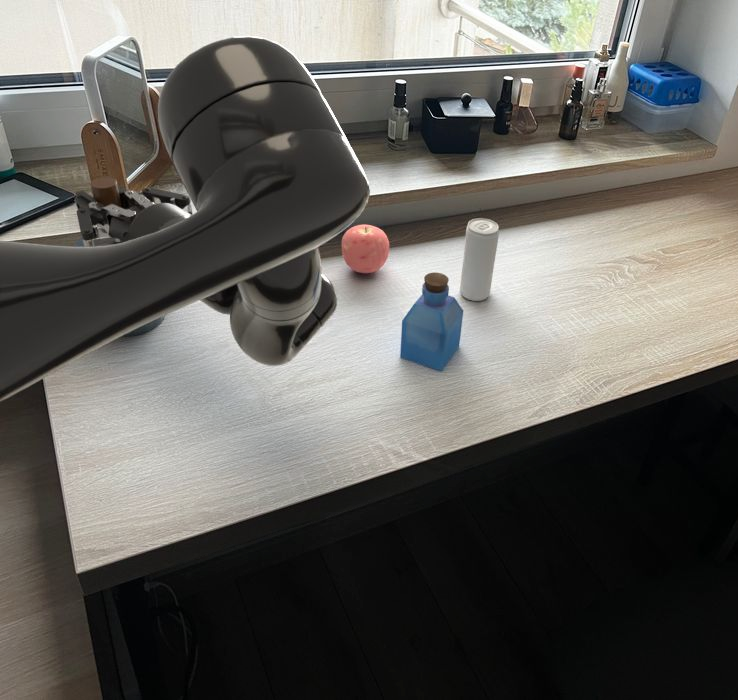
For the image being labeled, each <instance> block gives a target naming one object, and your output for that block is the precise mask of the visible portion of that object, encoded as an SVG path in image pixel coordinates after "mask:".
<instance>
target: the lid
mask: <svg viewBox="0 0 738 700" xmlns="http://www.w3.org/2000/svg"><path fill="white" fill-rule="evenodd" d="M118 185H119V184H118V181H117V179H115V178H112V177H98V178H95V179H93V180H91V181H90V182H89V186H90V191H91V196H92V197H94V198H95V199H97V200H98V201H99V202H100V203H102V204H105V205H109V204H113V205H116V206H118V207H120V208H123V207H122V203H121V198H120V194H119V189H118ZM97 229H98V230H101V231H102V232H103V233H107V232H106V230H105V229H103V228H100V227H99V228H98V227H97ZM109 245H112V244H109ZM74 246H77V247H80V246H84V243H83V239H82V236H80V237H79V238H78V239H77V240H76V241H75V242H74ZM102 246H104V245H102Z"/></svg>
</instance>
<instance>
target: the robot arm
mask: <svg viewBox="0 0 738 700" xmlns="http://www.w3.org/2000/svg"><path fill="white" fill-rule="evenodd" d="M157 121H158V126H159V131H160V135H161V138H162V141H163V144H164V147H165V151H166V152H167V154H168V156H169V159H170V160H171V163H172V165H173V167H174V169H175V171H176V172H177V175H178V176H179V178H180V180H181V183H182V184H183V186H184V188H185V190H186V192H187V194H184V193H178V192H173V191H169V190H168V191H167V190H163V189H158V188H154V187H144V188H142V189H141V192H138V191H136V190H133V189H127V188H125V187H123V186H122V185H120V184H117V185H118V189H119V194H120V198H121V203H122V207H123V208H120V207H118V206H116V205H113V204H109V205H105V204H102V203H100V202H99V201H98V200H97V199H95V198H94V197H93V195H90V194H89V193H87V192H86V191H84V190H80V191H76V192H75V196H74V197H73V198H74V201H75V205H76V208H77V210H76V216H77V221H78V226H79V229H80V230H79V231H80V235H81V237H82V239H83V243H84V246H80V247H77V246H75V245H74V246H73V245H56V244H55V245H54V244H44V243H43V244H42V243H34V242H33V243H31V242H21V241H10V240H9V241H8V240H0V403H3V402H5V401H6V400H8V399H9V398H11V397H13V396H14V395H17V394H18V393H20V392H22V391H24V390H26V389H27V388H29V387H31V386H32V385H34V384H36V383H37V382H40V381H41V380H43V379H45V378H47V377H48V376H50V375H52V374H54V373H55V372H57V371H60V370H61V369H62V368H65V367H66V366H68V365H70V364H72V363H73V362H76V361H77V360H79V359H81V358H83V357H84V356H86V355H88V354H90V353H92V352H94V351H96V350H98V349H100V348H102V347H103V346H105V345H107V344H109V343H112V342H113V341H115V340H117V339H119V338H122V337H121V336H123V335H125V334H127V333H129V332H131V331H133V330H135V329H137V328H139V327H141V326H143V325H145V324H147V323H149V322H151V321H153V320H155V319H158V318H160V317H162V316H164V315H165V316H167V315H169V314H171V313H173V312H176V311H178V310H180V309H183V308H185V307H187V306H190V305H192V304H194V303H196V302H198V301H200V302H201V303H203V304H204V305H205V306H207V307H209V308H210V309H212V310H214V311H216V312H218V313H219V314H223V315H228V316H229V327H230V330H231V335H232V336H233V339H234V340H235V343H236V345H238V347H239V348H240V349H241V350H242V352H243V353H244V354H245V355H246V356H247V357H248V358H250V359H252V360H253V361H255V362H256V363H259V364H261V365H264V366H268V367H279V366H283V365H286V364H288V363H290V362H291V361H293V360H294V359H295V358H296V357H297V356H298V355H299V354H300V352H302V350H303V349H304V348H305V347H306V346H307V345H308V343H309V342H310V341H311V340H312V339H313V338H314V337H315V336H316V335H317V334H318V333H319V332H320V331H321V329H322V328H323V327H325V324H327V323H328V321H329V320H330V319H331V318H332V317H333V315H334V313H335V312H336V310H337V307H338V296H337V292H336V289H335V287H334V285H333V283H332V281H331V280H330V279H329V278H328V277H327V276H326V275H325V274H324V273H323V265H322V257H321V252H320V248H319V247H320V246H322V245H324V244H325V243H327V242H328V241H331V240H332V239H333V238H335V237H337V236H338V235H339V234H340V233H342V232H343V231H345V230H346V229H348V228H349V227H350V226H351V225H352V224H353V223H354V222H355V221H356V220H357V218H359V217H360V215H362V213H363V212H364V211H365V209H366V207H367V204H368V202H369V200H370V194H371V187H370V183H369V180H368V178H367V176H366V173H365V171H364V168H363V166H362V165H361V163H360V161H359V159H358V157H357V155H356V153H355V152H354V150H353V148H352V147H351V145H350V142H349V141H348V139H347V137H346V135H345V133H344V131H343V130H342V128H341V126H340V124H339V122H338V120H337V118H336V117H335V115H334V112H333V111H332V109H331V107H330V106H329V104H328V102H327V100H326V99H325V97H324V95H323V93H322V92H321V89H320V87H319V86H318V84H317V83H316V81H315V79H314V78H313V76H312V74H311V73H310V72H309V70H308V69H307V68H306V66H305V65H304V64H303V63H302V61H300V60H299V59H298V57H297V56H296V55H294V53H293V52H291V50H289V49H287V48H286V47H285V46H282V45H281V44H280V43H278V42H275V41H273V40H270V39H266V38H264V37H259V36H250V35H246V36H244V35H243V36H234V37H229V38H223V39H220V40H216V41H213V42H211V43H208V44H206V45H204V46H202V47H200V48H198V49H196V50H194V51H193V52H192V53H189V54H188V55H187V56H185V58H183V59H182V60H181V61H180V62H179V63H178V64H177V65H175V67H174V68H173V69H172V71H171V72H170V73H169V74H168V75H167V78H166V79H165V81H164V83H163V85H162V87H161V89H160V94H159V98H158V103H157ZM156 199H159V203H157V202H156ZM191 202H192V203H191ZM192 204H193V207H194V208H195V210H196V212H195V213H193V208H192ZM98 227H99V228H103V229H105V230H106V232H107V233H103V232H102V231H101V230H98ZM109 244H112V245H109ZM102 245H104V246H102ZM165 316H164V317H165Z"/></svg>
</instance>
